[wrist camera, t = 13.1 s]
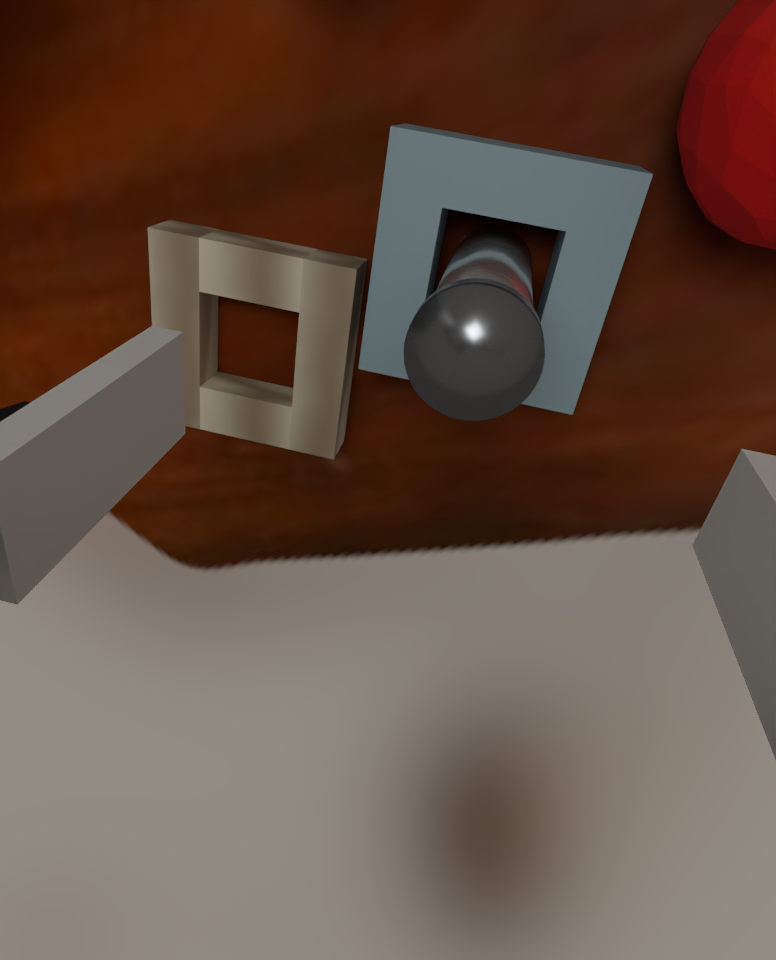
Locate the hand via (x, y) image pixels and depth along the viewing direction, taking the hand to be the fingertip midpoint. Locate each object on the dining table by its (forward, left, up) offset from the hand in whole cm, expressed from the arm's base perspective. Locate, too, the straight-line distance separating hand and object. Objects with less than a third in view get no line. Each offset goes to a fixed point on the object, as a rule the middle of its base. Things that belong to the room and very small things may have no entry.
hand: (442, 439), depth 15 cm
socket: (0, 0, -21) cm, 21 cm away
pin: (0, 0, -21) cm, 21 cm away
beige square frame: (-12, -7, -21) cm, 25 cm away
